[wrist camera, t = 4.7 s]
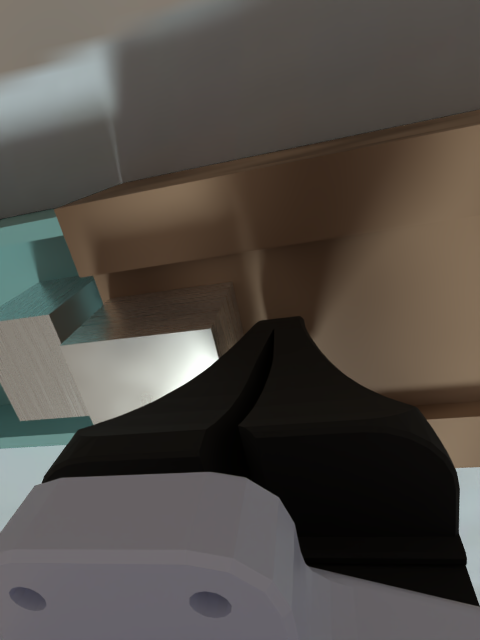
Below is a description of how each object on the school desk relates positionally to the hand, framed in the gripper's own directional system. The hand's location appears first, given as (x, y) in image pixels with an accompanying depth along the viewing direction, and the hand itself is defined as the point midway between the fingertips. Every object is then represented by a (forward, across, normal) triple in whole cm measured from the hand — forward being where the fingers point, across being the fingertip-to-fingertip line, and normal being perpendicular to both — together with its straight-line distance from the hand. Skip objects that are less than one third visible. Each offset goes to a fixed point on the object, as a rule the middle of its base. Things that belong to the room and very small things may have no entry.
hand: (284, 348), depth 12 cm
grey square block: (+1, +3, 0) cm, 3 cm away
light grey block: (+2, +7, 0) cm, 8 cm away
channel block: (+5, -2, 0) cm, 5 cm away
